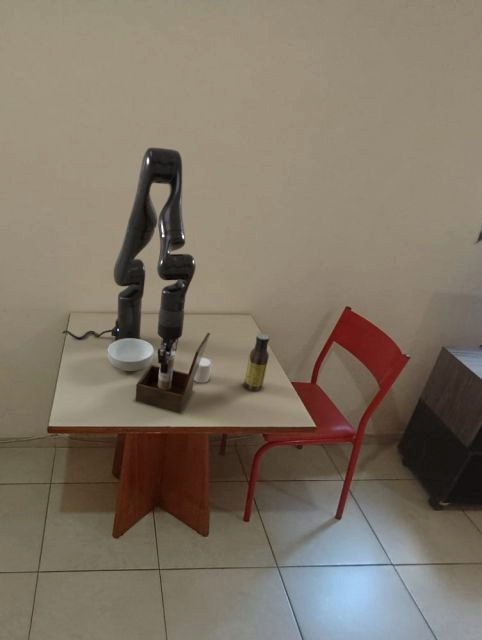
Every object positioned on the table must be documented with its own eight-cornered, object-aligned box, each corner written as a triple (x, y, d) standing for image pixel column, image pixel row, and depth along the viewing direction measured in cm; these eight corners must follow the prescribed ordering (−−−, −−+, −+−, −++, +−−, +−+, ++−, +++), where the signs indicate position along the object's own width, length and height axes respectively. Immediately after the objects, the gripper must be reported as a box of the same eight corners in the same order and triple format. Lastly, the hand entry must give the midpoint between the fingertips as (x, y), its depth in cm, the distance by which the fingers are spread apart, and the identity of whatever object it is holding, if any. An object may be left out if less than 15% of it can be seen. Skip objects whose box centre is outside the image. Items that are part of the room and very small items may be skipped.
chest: (135, 401, 146) (136, 384, 142) (150, 380, 156) (151, 364, 152) (180, 413, 141) (182, 396, 137) (192, 391, 151) (194, 375, 147)
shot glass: (211, 375, 160) (214, 358, 156) (208, 385, 155) (210, 368, 151) (193, 371, 162) (195, 355, 158) (188, 381, 156) (191, 364, 152)
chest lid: (195, 351, 127) (198, 352, 127) (207, 332, 137) (210, 333, 137) (181, 394, 137) (183, 395, 137) (193, 373, 147) (195, 374, 147)
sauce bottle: (252, 379, 158) (263, 329, 147) (265, 388, 154) (278, 337, 143) (239, 384, 156) (249, 334, 144) (252, 393, 151) (264, 342, 140)
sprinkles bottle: (154, 386, 146) (157, 351, 139) (163, 381, 149) (166, 346, 142) (165, 392, 144) (169, 356, 136) (174, 386, 147) (178, 351, 139)
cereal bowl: (120, 350, 173) (120, 333, 169) (159, 360, 167) (161, 344, 164) (99, 370, 161) (99, 353, 157) (140, 382, 155) (141, 365, 151)
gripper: (167, 308, 139) (162, 355, 149) (150, 327, 128) (147, 376, 138) (190, 313, 137) (184, 360, 147) (175, 333, 126) (170, 382, 136)
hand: (166, 368), depth 142 cm, fingers closed on sprinkles bottle, 4 cm apart
